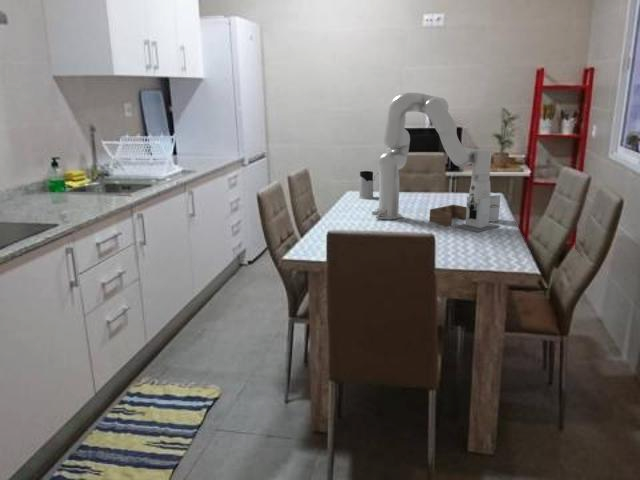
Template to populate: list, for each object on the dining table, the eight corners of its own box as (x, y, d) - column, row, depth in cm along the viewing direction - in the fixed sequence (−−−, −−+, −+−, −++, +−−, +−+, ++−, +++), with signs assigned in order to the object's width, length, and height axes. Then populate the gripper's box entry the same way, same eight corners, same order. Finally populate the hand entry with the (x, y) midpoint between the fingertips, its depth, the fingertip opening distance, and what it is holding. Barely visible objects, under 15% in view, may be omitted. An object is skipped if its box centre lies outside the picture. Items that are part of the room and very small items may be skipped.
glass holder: (355, 197, 310) (356, 171, 306) (376, 194, 316) (376, 169, 312) (363, 199, 302) (364, 173, 298) (384, 197, 309) (385, 171, 305)
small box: (488, 225, 236) (490, 197, 233) (480, 228, 233) (482, 199, 229) (473, 222, 242) (475, 194, 239) (465, 225, 239) (466, 196, 235)
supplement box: (484, 222, 246) (486, 195, 242) (476, 219, 253) (478, 193, 249) (498, 221, 248) (501, 194, 244) (489, 218, 255) (491, 192, 251)
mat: (477, 232, 228) (477, 231, 228) (455, 227, 237) (455, 226, 237) (499, 226, 238) (499, 225, 237) (476, 222, 247) (476, 220, 247)
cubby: (449, 226, 239) (450, 213, 237) (429, 221, 248) (430, 209, 246) (473, 220, 249) (473, 208, 247) (452, 216, 258) (453, 204, 256)
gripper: (475, 180, 224) (472, 222, 228) (499, 176, 234) (496, 216, 239) (461, 178, 229) (458, 218, 234) (485, 174, 240) (482, 213, 244)
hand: (477, 217), depth 236 cm, fingers open, 6 cm apart
